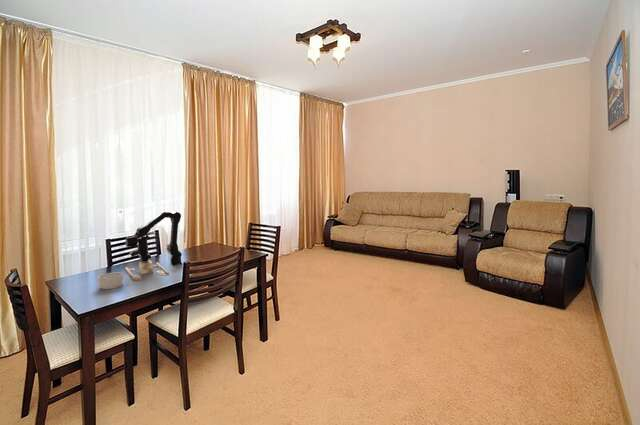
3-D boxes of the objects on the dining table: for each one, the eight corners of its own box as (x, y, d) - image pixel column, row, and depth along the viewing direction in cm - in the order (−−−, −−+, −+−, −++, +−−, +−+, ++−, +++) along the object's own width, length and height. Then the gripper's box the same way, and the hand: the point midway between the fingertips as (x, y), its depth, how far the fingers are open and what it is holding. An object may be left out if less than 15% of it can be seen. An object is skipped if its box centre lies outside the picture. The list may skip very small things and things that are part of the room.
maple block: (150, 269, 237) (150, 260, 236) (152, 272, 231) (152, 262, 230) (139, 271, 232) (139, 262, 232) (141, 274, 227) (140, 264, 226)
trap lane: (157, 264, 251) (157, 262, 251) (168, 274, 226) (168, 272, 226) (125, 269, 238) (125, 267, 238) (133, 281, 213) (133, 278, 213)
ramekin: (119, 281, 213) (118, 270, 212) (127, 285, 205) (126, 274, 204) (95, 287, 203) (94, 276, 202) (103, 291, 194) (102, 280, 194)
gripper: (127, 244, 237) (129, 265, 239) (132, 249, 222) (133, 271, 224) (145, 242, 243) (146, 262, 245) (150, 246, 229) (152, 268, 231)
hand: (144, 266), depth 236 cm, fingers closed
